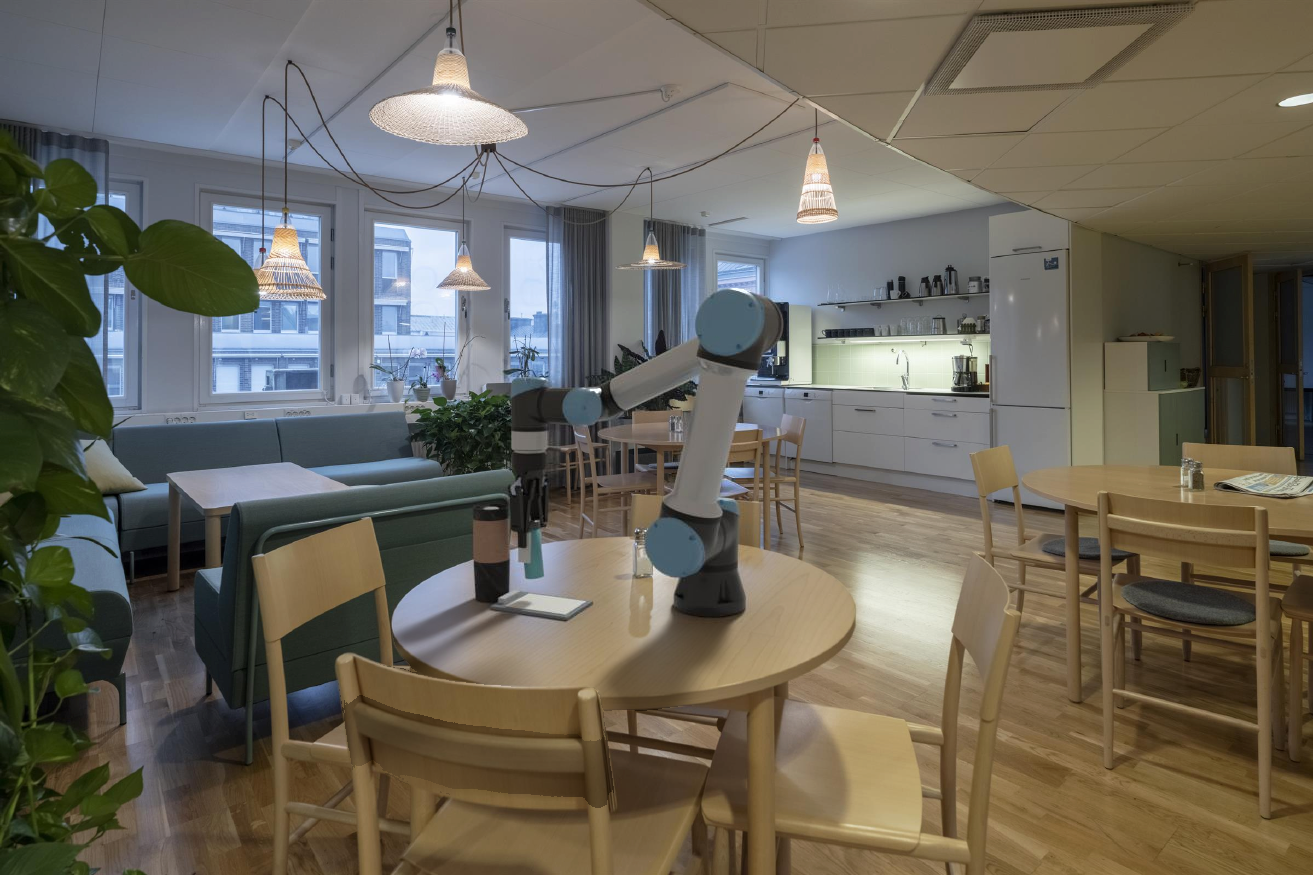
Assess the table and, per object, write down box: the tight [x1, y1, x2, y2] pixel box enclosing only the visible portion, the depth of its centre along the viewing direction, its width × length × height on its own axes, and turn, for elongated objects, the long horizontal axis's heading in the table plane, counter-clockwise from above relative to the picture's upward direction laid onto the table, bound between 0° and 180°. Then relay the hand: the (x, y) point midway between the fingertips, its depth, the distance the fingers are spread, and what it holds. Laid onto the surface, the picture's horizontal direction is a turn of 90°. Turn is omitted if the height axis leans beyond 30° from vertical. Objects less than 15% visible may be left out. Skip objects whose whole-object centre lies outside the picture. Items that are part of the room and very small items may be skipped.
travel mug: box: [472, 502, 511, 604], centre depth 157 cm, size 8×8×20 cm
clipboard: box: [490, 589, 594, 621], centre depth 153 cm, size 18×11×2 cm, turn 68°
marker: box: [523, 518, 545, 580], centre depth 156 cm, size 4×4×12 cm
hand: (530, 559), depth 157 cm, fingers closed on marker, 3 cm apart
